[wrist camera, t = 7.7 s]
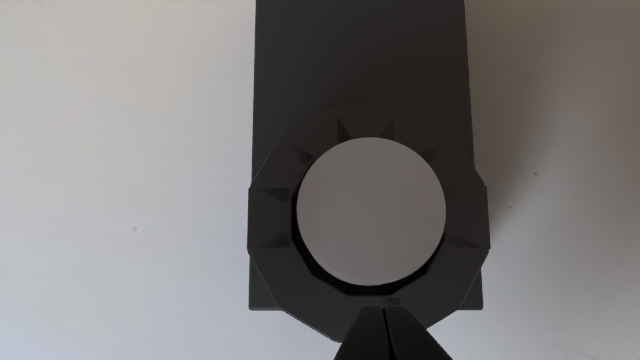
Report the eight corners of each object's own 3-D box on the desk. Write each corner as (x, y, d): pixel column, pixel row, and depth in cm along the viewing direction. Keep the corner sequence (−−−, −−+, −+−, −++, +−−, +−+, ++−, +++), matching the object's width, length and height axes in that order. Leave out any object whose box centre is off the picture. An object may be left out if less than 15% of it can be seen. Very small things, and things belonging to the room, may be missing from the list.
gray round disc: (434, 285, 15) (450, 284, 13) (301, 285, 15) (296, 284, 13) (429, 156, 15) (442, 135, 13) (302, 157, 15) (297, 136, 13)
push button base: (450, 325, 21) (507, 342, 14) (268, 326, 21) (235, 343, 14) (434, -2, 23) (474, -123, 17) (273, 1, 24) (248, -117, 17)
